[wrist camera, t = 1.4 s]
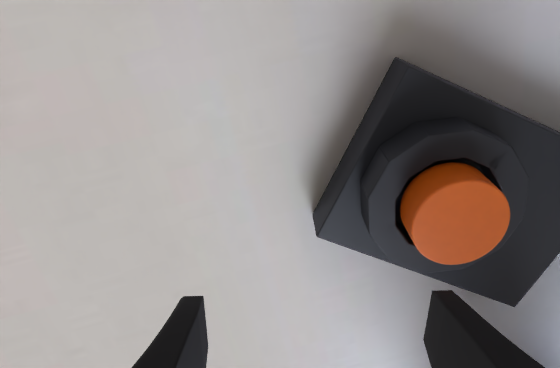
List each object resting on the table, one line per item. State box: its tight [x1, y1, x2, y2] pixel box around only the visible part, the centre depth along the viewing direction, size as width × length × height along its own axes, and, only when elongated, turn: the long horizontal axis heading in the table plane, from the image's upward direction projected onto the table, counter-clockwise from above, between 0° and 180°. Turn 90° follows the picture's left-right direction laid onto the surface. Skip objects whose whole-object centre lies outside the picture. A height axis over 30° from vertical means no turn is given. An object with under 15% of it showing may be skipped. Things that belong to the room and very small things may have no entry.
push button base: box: [313, 57, 560, 307], centre depth 21 cm, size 12×9×4 cm
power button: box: [400, 162, 510, 265], centre depth 19 cm, size 4×4×2 cm
